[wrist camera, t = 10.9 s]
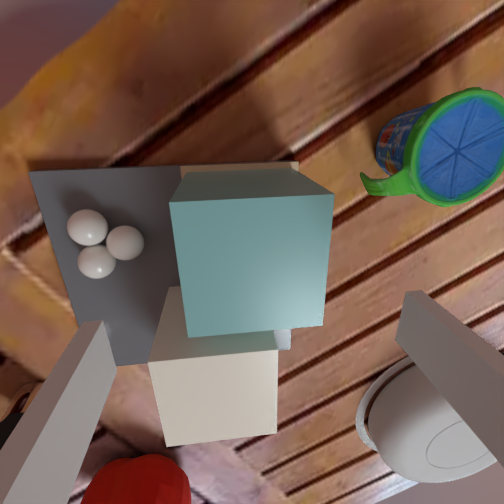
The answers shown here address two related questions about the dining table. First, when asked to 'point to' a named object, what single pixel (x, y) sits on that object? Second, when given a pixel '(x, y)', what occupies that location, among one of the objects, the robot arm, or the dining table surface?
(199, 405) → the ivory cuboid
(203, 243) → the seafoam cube
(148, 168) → the board
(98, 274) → the marble
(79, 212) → the marble
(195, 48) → the dining table surface
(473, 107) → the snack cup
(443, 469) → the round ceiling alarm
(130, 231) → the marble
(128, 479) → the tomato
